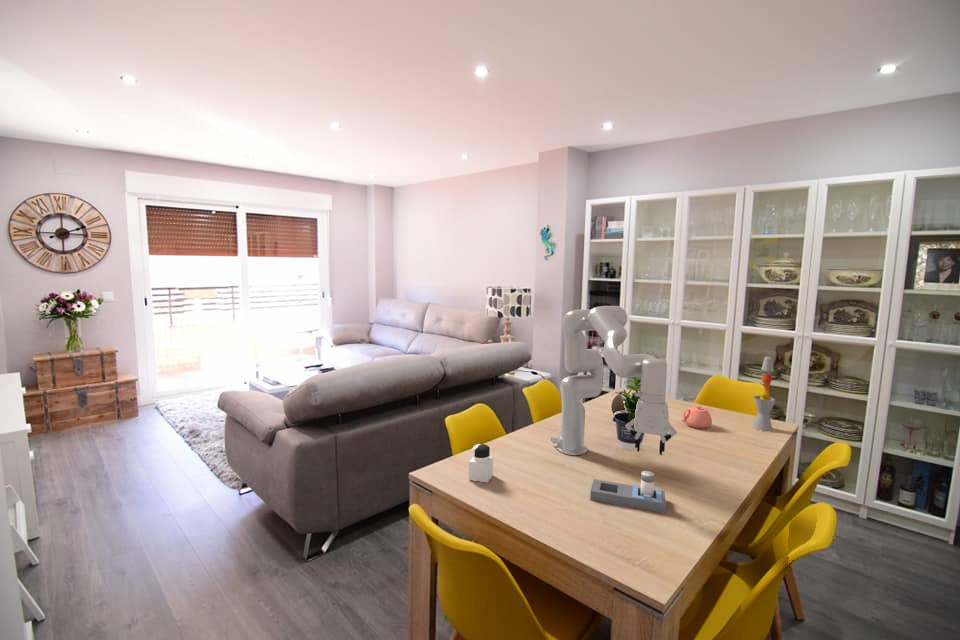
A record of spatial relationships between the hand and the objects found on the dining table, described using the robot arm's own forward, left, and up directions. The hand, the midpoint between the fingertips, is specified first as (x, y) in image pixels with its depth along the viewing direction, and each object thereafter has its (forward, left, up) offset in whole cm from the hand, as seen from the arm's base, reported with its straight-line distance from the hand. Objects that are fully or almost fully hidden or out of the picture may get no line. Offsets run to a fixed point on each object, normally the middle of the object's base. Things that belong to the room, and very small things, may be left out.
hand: (649, 451), depth 146 cm
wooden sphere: (-9, +80, -18) cm, 83 cm away
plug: (0, 0, -18) cm, 18 cm away
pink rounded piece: (+23, +87, -18) cm, 92 cm away
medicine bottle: (-56, -3, -18) cm, 59 cm away
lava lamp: (+53, +95, -18) cm, 110 cm away
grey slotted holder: (-6, 0, -18) cm, 19 cm away
